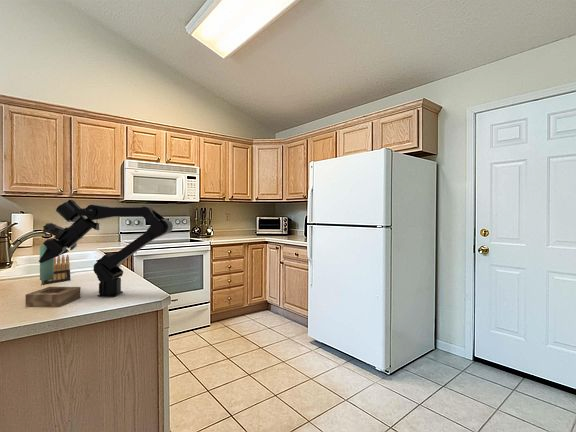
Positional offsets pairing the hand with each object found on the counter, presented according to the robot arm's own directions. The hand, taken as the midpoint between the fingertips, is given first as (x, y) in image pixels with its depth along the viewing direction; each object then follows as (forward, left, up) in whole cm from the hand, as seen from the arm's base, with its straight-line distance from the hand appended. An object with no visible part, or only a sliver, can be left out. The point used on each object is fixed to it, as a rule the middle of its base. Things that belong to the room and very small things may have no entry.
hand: (42, 261), depth 114 cm
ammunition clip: (+12, -25, -13) cm, 30 cm away
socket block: (-8, +5, -13) cm, 17 cm away
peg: (-1, 0, -7) cm, 7 cm away
